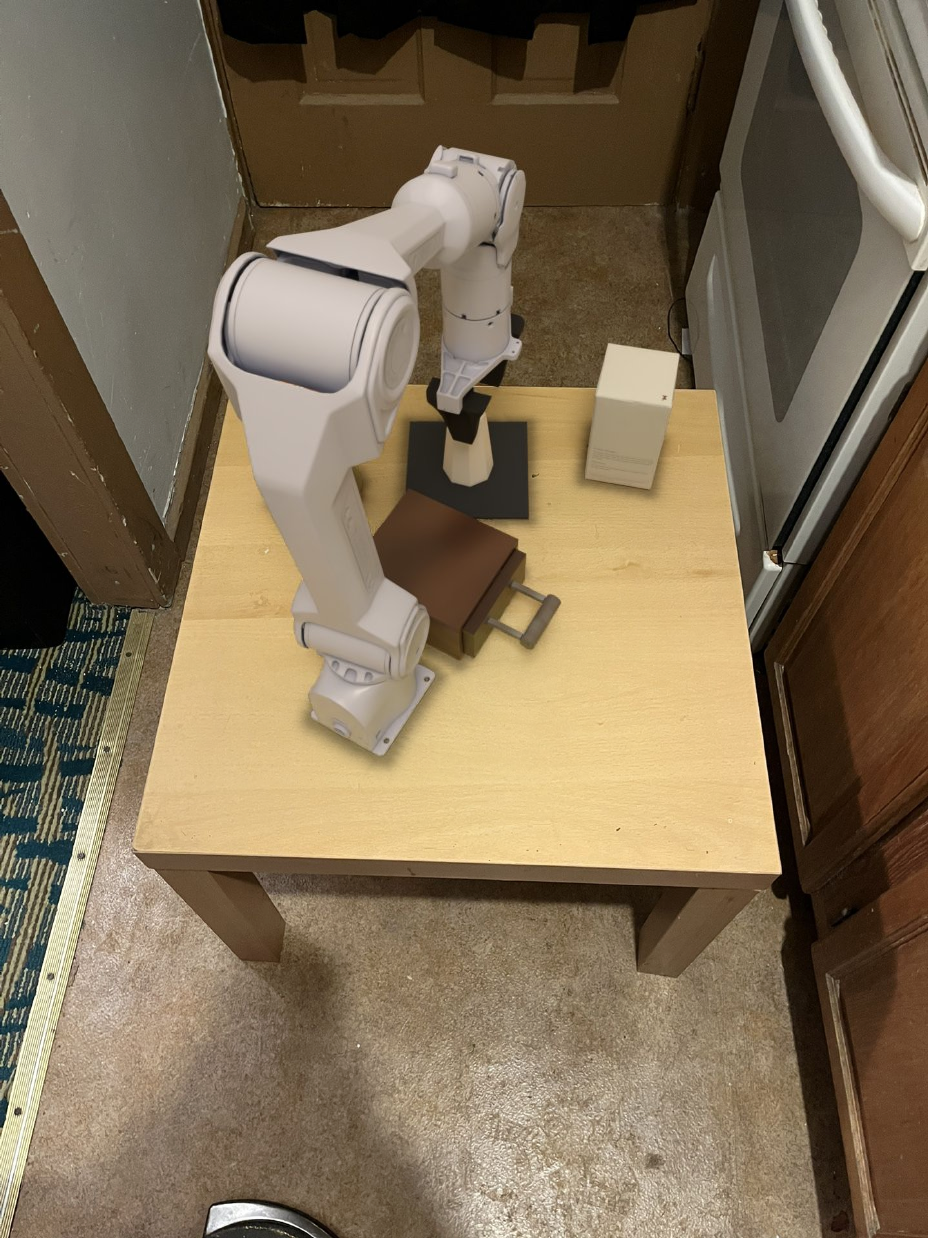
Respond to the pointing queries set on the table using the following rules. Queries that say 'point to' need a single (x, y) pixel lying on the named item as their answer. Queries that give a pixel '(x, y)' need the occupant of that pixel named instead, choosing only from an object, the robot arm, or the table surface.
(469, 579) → the cabinet
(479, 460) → the pepper shaker
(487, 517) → the mat
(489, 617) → the drawer
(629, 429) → the white packaging box
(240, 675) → the table surface
